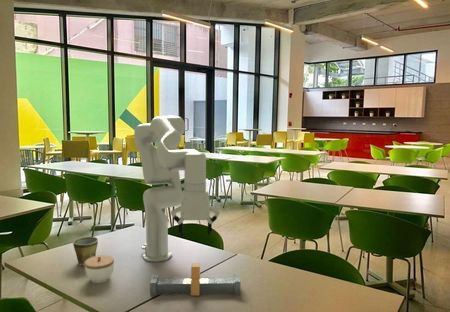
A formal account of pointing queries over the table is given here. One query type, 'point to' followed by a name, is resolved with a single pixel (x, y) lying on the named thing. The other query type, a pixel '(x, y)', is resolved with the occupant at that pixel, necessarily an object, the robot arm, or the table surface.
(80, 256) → the ceramic cup
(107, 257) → the lidded jar
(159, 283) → the rail
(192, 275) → the clip
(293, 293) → the table surface
